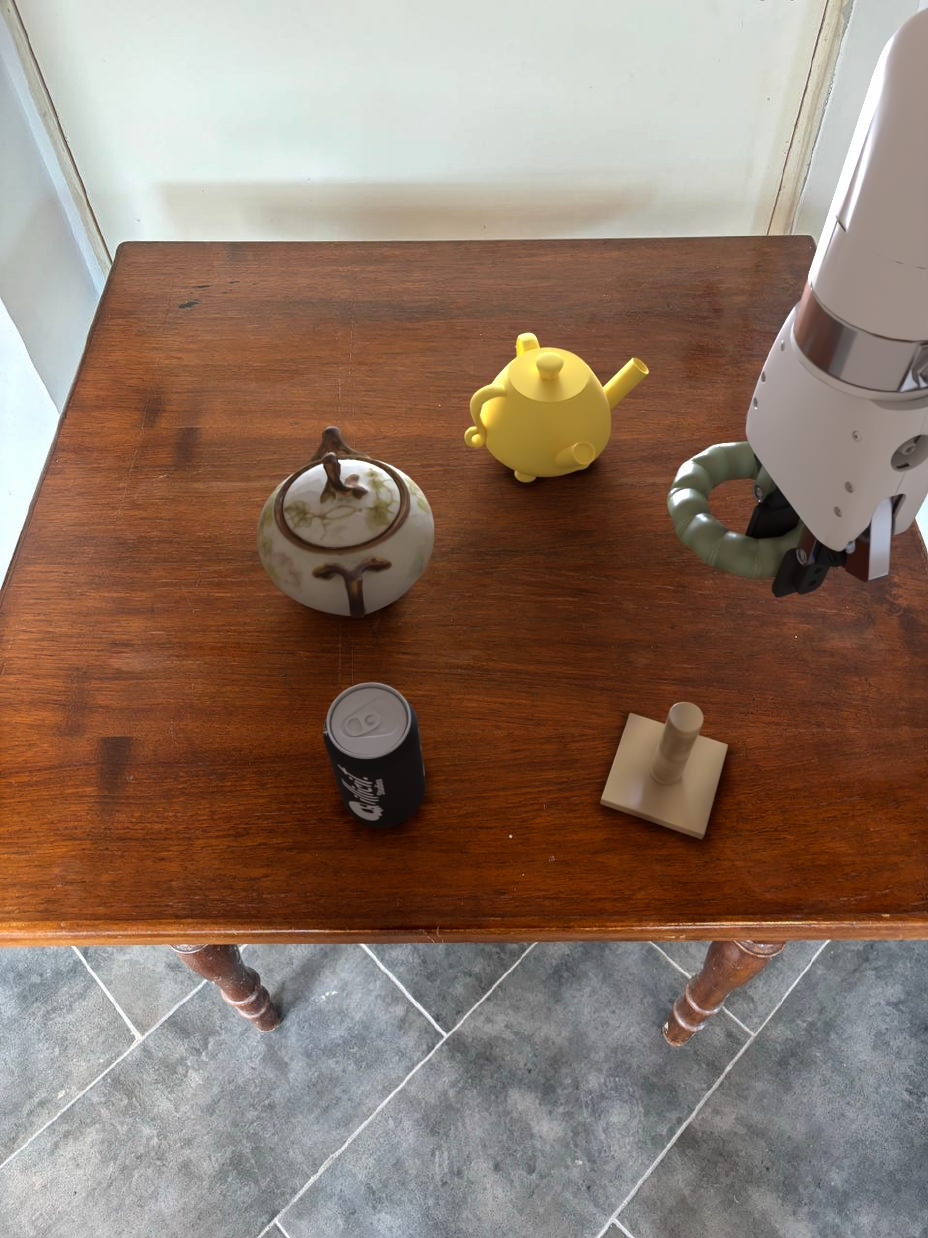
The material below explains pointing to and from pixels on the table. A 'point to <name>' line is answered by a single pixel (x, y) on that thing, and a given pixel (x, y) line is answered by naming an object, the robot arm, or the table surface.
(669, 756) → the square base peg stand
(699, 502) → the ring
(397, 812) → the beverage can
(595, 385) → the teapot
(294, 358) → the table surface
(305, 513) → the sugar bowl
